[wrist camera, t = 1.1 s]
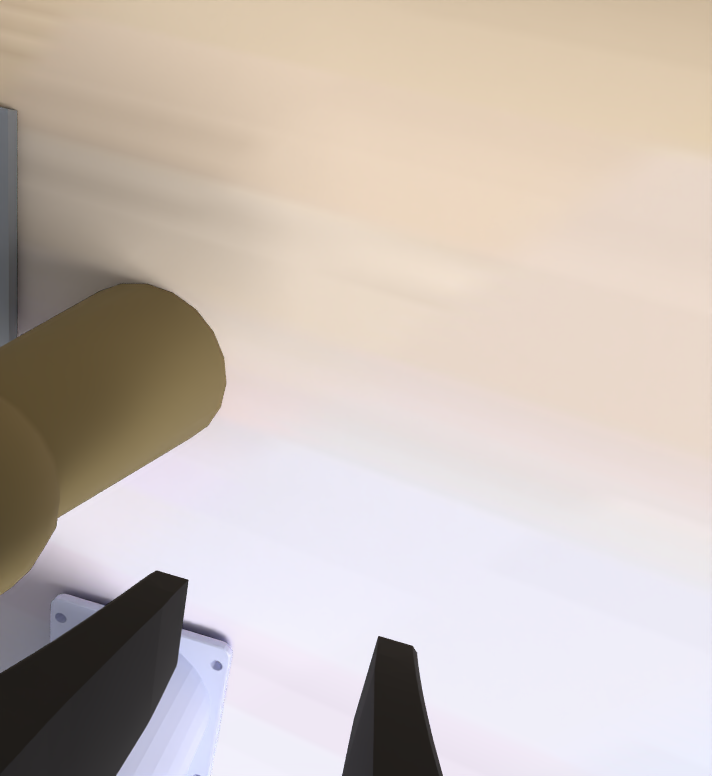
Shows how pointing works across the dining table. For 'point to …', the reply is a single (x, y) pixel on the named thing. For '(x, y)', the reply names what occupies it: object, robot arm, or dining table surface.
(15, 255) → the mat
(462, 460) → the dining table surface
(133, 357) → the cork
